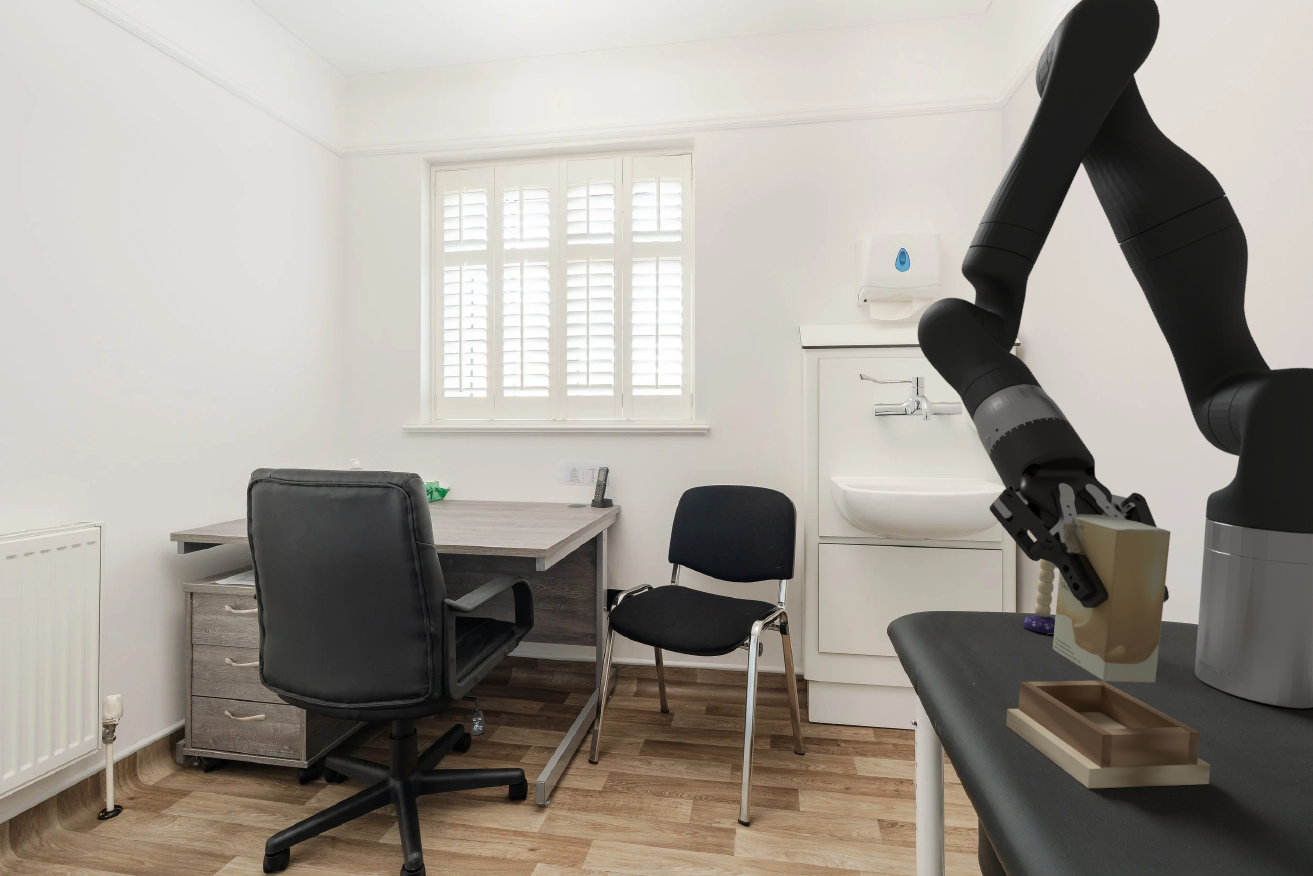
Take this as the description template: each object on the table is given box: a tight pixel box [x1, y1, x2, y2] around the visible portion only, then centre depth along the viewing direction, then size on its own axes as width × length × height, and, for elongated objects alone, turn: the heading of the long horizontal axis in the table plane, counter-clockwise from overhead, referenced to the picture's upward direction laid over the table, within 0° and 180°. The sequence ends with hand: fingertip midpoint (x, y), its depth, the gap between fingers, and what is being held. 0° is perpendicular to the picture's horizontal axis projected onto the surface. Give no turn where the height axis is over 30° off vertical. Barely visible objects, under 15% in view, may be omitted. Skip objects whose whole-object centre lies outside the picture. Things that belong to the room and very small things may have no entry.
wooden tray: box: [1006, 680, 1211, 789], centre depth 50 cm, size 10×9×4 cm
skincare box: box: [1052, 514, 1171, 683], centre depth 49 cm, size 6×4×12 cm
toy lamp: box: [1022, 559, 1056, 634], centre depth 79 cm, size 5×5×17 cm
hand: (1127, 602), depth 48 cm, fingers closed on skincare box, 4 cm apart
